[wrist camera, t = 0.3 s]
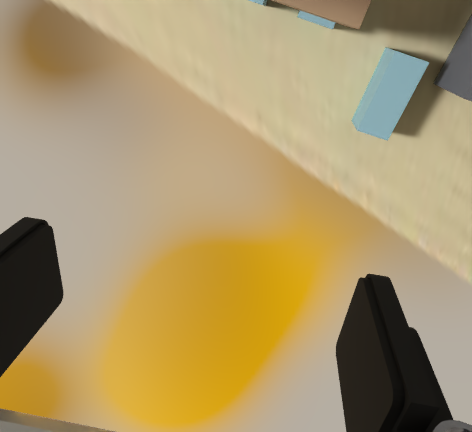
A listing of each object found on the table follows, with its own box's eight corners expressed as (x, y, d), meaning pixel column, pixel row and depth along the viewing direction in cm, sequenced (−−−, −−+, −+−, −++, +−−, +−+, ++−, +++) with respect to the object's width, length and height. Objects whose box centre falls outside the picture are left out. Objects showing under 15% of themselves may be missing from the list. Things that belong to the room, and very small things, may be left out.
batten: (385, 47, 33) (395, 50, 30) (416, 57, 33) (429, 62, 30) (351, 120, 36) (356, 130, 33) (379, 129, 36) (387, 140, 33)
